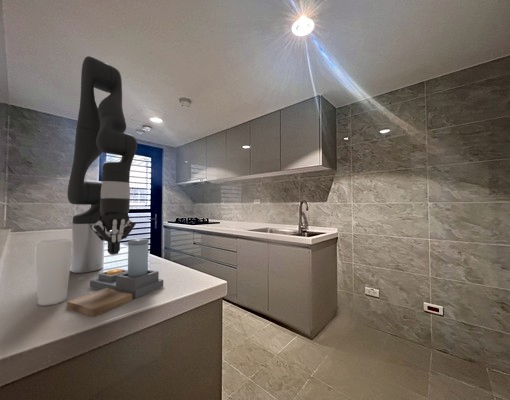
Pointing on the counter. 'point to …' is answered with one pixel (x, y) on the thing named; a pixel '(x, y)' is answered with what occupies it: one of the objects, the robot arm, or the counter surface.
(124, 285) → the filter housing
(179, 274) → the counter surface
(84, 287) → the counter surface
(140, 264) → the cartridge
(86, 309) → the walnut board
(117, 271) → the button
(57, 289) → the drinking glass
